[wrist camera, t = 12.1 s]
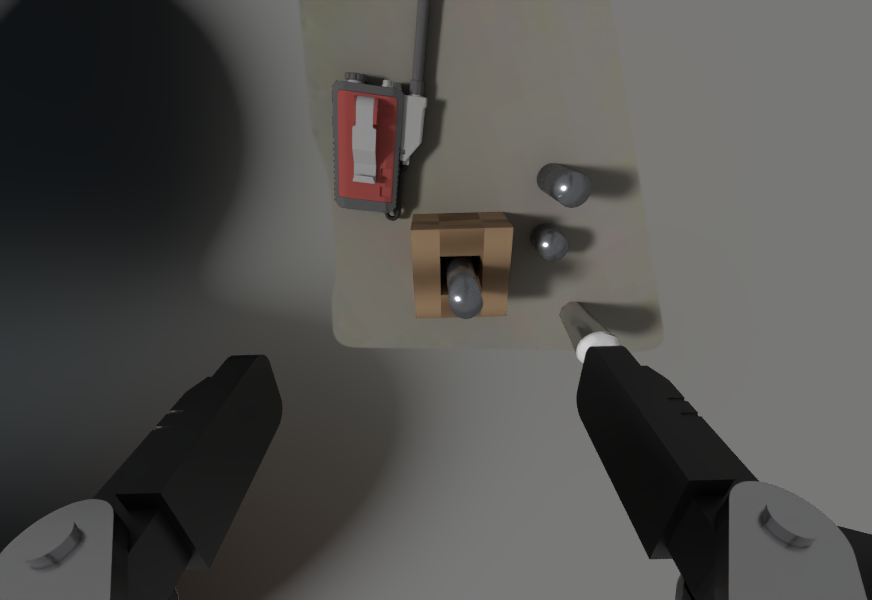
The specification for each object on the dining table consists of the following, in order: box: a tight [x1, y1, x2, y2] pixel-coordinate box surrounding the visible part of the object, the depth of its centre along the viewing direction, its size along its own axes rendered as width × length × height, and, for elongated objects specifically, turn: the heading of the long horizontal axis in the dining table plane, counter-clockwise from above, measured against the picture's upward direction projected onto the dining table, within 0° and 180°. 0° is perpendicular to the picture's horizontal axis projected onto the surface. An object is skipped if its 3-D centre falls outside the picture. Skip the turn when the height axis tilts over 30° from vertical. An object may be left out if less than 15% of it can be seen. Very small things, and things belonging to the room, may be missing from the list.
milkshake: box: [559, 302, 619, 363], centre depth 41 cm, size 4×5×10 cm
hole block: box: [411, 212, 514, 318], centre depth 39 cm, size 10×10×6 cm
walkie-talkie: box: [332, 0, 430, 221], centre depth 33 cm, size 9×4×20 cm
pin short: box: [531, 224, 568, 261], centre depth 39 cm, size 3×3×4 cm
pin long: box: [445, 256, 483, 319], centre depth 36 cm, size 3×3×12 cm
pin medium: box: [537, 163, 592, 208], centre depth 34 cm, size 3×3×7 cm
